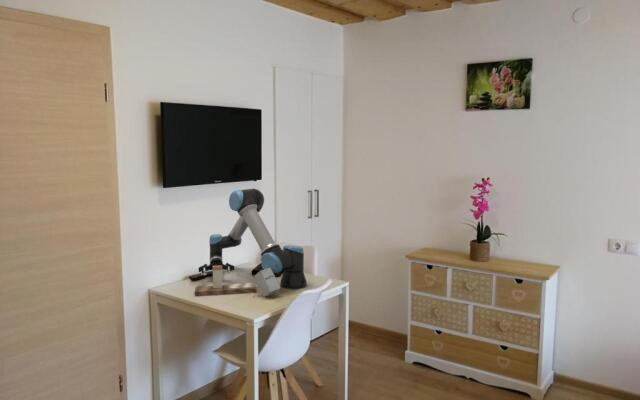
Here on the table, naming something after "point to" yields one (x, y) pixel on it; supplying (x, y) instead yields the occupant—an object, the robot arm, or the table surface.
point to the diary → (259, 268)
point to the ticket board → (226, 289)
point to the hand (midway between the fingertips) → (216, 272)
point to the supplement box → (267, 282)
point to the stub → (217, 276)
